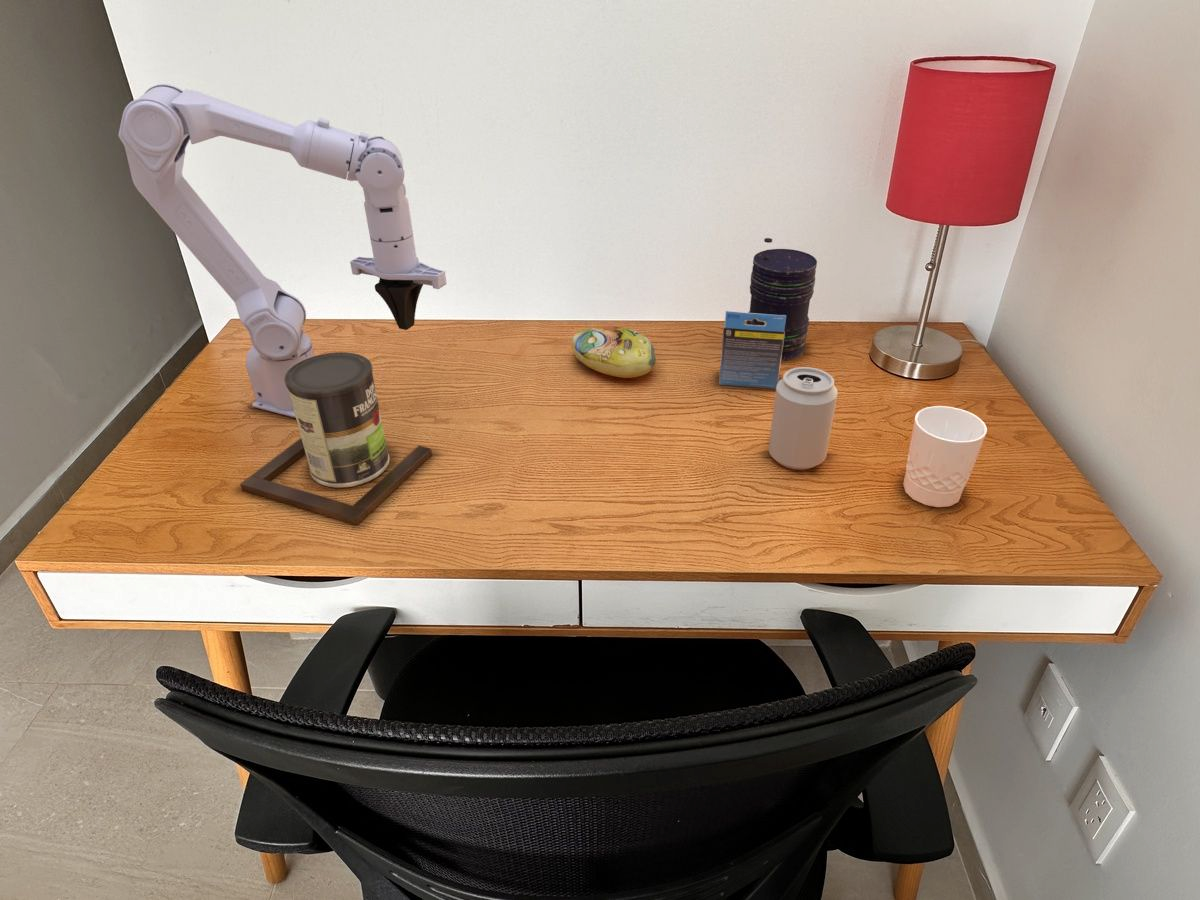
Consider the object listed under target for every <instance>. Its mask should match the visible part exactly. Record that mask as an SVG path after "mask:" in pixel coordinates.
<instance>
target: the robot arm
mask: <svg viewBox="0 0 1200 900" xmlns="http://www.w3.org/2000/svg"><path fill="white" fill-rule="evenodd" d="M369 136H370V135H369V134H368V133H365V132H362V131H361V132H360V134H356V133H353V132H350V131H347V130H344V129H341V128H337V127H334V126H330V120H329V119H326V118H322V117H318V119H317V121H314V120H312V119H306V120H304V121H303V122H302V123H300V124H297V125H293V124H290V123H287V122H284V121H282V120H279V119H276V118H273V117H271V116H267V115H265V114H262V113H259V112H256V111H254V110H251V109H248V108H245V107H242V106H241V105H240V106H239V105H237V104H234V103H230V102H228V101H226V100H222V99H220V98H217V97H214V96H211V95H208V94H206V93H203V92H201V91H198V90H193V89H187V88H185V89H184V90H183V89H181V88H180V87H178V86H175V85H172V84H167V83H160V84H155V85H152V86H150V87H149V88H148V89H146V91H144V93H143V95H141V96H140V97H138V98H136V99H134V100H131V101H130V102H129V103H128V104H127V105H126V106H125V108H124V110H123V112H122V116H121V121H120V125H119V130H118V138H119V140H120V141H121V142H122V144H123V146H124V150H125V154H126V158H127V163H128V167H129V171H130V176H131V181H132V183H133V185H134V187H135V188H136V190H137V191H138V192H139V193H140V195H141V196H142V197H143V198H144V199H145V200H146V201H147V203H148V204H149V205H150V206H151V207H152V209H153V210H154V211H155V212H156V213H157V214H158V215H159V217H160V218H161V219H162V220H163V221H164V222H165V224H166V225H167V226H168V227H169V229H171V230H172V232H173V233H174V234H175V235H176V236H177V237H178V239H179V240H180V241H181V242H182V243H183V244H184V246H185V247H186V248H187V249H188V250H189V251H190V252H191V254H192V255H193V256H194V257H195V258H196V259H197V261H198V262H199V263H200V264H201V265H202V266H203V268H204V269H205V270H206V271H207V273H209V275H210V276H211V277H212V278H213V279H214V280H215V282H217V284H218V285H219V286H220V287H221V289H223V291H224V292H225V293H226V294H227V296H229V297H230V299H231V300H232V301H233V303H234V305H235V308H236V311H237V314H238V317H239V319H240V323H241V324H242V325H243V326H244V328H245V329H246V330H247V333H248V334H249V336H250V342H251V344H252V346H251V347H250V348H249V350H248V352H247V354H246V359H245V369H246V372H247V376H248V379H249V382H250V385H251V389H252V392H253V396H254V399H255V401H254V402H252V407H253V408H255V409H260V410H263V411H267V412H271V413H274V414H279V415H283V416H287V417H290V418H295V419H296V416H295V413H294V409H293V406H292V402H291V398H290V394H289V391H288V388H287V387H286V384H285V380H284V378H285V374H286V373H287V371H288V370H289V369H290V368H291V367H292V366H294V365H295V364H297V363H299V362H301V361H303V360H305V359H307V358H310V357H313V356H315V353H314V349H313V348H314V347H313V345H312V344H313V343H312V340H311V338H310V337H309V336H308V335H307V334H306V333H305V331H304V330H303V327H304V325H305V322H306V319H307V311H306V308H305V306H304V304H303V303H302V301H300V299H299V298H298V297H296V296H294V295H293V294H290V293H288V292H287V291H285V290H284V289H283V288H282V287H281V286H280V285H279V283H278V282H277V281H275V280H272V279H270V278H268V277H266V276H265V275H264V274H263V273H262V272H261V270H260V269H259V268H258V267H257V265H256V264H255V263H254V262H253V260H252V259H251V258H250V257H249V255H248V254H247V253H246V252H245V251H244V249H243V248H242V247H241V246H240V244H239V243H238V242H237V241H236V240H235V239H234V237H233V236H232V235H231V234H230V232H229V231H228V230H227V229H226V227H225V226H224V225H223V224H222V223H221V221H220V220H219V219H218V217H217V216H216V215H215V214H214V213H213V212H212V210H211V209H210V208H209V207H208V205H207V204H206V202H204V201H203V199H202V198H201V197H200V196H199V194H198V193H197V192H196V191H195V189H194V188H193V187H192V186H191V184H190V183H189V182H188V181H187V180H186V178H185V177H184V176H183V169H184V162H185V156H186V148H187V146H188V144H189V142H190V144H191V145H195V144H200V143H202V142H205V141H208V140H212V139H214V138H217V137H225V138H229V139H233V140H237V141H240V142H245V143H249V144H253V145H257V146H261V147H265V148H269V149H273V150H276V151H280V152H284V153H285V152H286V153H288V154H290V155H291V156H292V157H293V158H294V160H295V161H296V162H297V164H298V165H299V167H300V168H305V169H308V170H311V171H313V172H319V173H321V174H324V175H327V176H328V175H329V176H332V177H336V178H339V179H342V180H347V181H349V182H355V181H357V182H358V184H359V186H360V187H361V188H362V190H363V196H364V203H363V206H364V207H363V208H364V211H365V216H366V223H367V228H368V229H367V230H368V234H369V240H370V245H371V246H370V247H371V250H372V255H373V257H365V256H357V257H355V258H354V259H351V260H350V261H349V264H350V268H351V273H352V275H355V276H360V275H361V274H362V275H367V276H373V277H377V278H379V279H378V282H377V283H376V284H374V290H375V292H376V294H378V295H379V296H380V297H381V298H382V300H383V301H384V302H385V304H386V306H387V307H388V309H389V310H390V312H391V315H392V317H393V319H394V321H395V323H396V325H397V327H398V329H400V330H403V331H407V330H410V329H411V328H412V327H414V326H415V320H416V319H415V318H416V310H417V306H418V305H417V304H418V301H419V297H420V294H421V291H422V288H423V287H424V286H431V287H432V289H435V290H440V289H441V288H443V287H445V286H446V285H447V276H446V271H445V270H441V269H438V268H435V267H432V266H430V265H428V264H425V263H423V262H420V261H419V257H418V256H417V250H416V245H415V244H416V243H415V239H414V231H413V225H412V217H411V211H410V205H409V199H408V197H407V196H406V195H407V189H406V185H405V184H404V180H405V169H404V161H403V156H402V154H401V151H400V150H399V147H397V146H396V144H395V143H393V142H392V141H390V140H389V139H387V138H385V137H384V136H382V135H374V136H370V137H369Z"/></svg>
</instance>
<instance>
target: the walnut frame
mask: <svg viewBox="0 0 1200 900" xmlns="http://www.w3.org/2000/svg"><path fill="white" fill-rule="evenodd" d="M304 455H306V453H305V450H304V446H303V442H302V439H301V438H299V439H298V440H296V441H295V442H294V443H292V444H290V446H288V447H287V448H286V449H285V450H283V451H282V452H281V453H279V454H278V455H276V456H275V457H274V458H272V459H271V460H270V461H269V462H267V463H266V464H265V465H263V466H262V467H260V468H259V469H258V470H257V471H255V472H253V474H251V475H250V476H249V477H247V478H246V479H244V480H243V481H242V482H241V483H239V487H240V488H241V491H243V492H246V493H250V494H253V495H257V496H259V497H263V498H266V499H269V500H273V501H276V502H280V503H283V504H286V505H290V506H292V507H296V508H299V509H302V510H306V511H309V512H313V513H315V514H319V515H322V516H326V517H329V518H332V519H336V520H339V521H341V522H345V523H349V524H352V525H355V526H358V525H360V524H361V523H362V522H363V521H364V520H365V519H366V518H367V517H368V516H369V515H370V514H371V513H372V512H373V511H374V510H375V509H376V508H377V507H378V506H380V505H381V504H382V503H383V502H384V501H385V500H386V499H387V498H388V497H389V496H390V495H392V493H393V492H394V491H395V490H396V489H398V487H400V486H401V485H402V483H403V484H404V482H405V481H406V480H407V479H408V478H409V477H410V476H411V475H412V474H413V473H414V472H415V471H416V470H418V468H420V467H421V466H422V465H423V464H424V463H425V462H426V461H427V460H428V459H429V458H430V457H431V456H432V455H433V451H432V448H430V447H426V446H422V445H418V446H417V447H415V448H414V449H413V450H412V451H411V452H410V453H409V454H408V455H406V457H404V459H402V460H401V461H400V462H399V463H398V464H397V465H396V466H395V467H393V468H392V470H390V471H389V472H388V473H387V474H386V475H384V477H383V478H382V479H380V480H379V481H378V482H377V483H376V484H374V485H373V486H372V487H371V489H370V490H368V491H367V492H366V493H365V494H364V495H363V496H362V497H361V498H360V499H358V500H357V501H356V502H355V503H354V504H353V505H352V504H349V503H345V502H342V501H338V500H335V499H331V498H328V497H325V496H322V495H318V494H315V493H311V492H308V491H304V490H302V489H298V488H295V487H292V486H291V487H290V486H288V485H284V484H280V483H278V482H274V481H273V480H274V478H276V477H278V476H279V475H280V474H281V473H282V472H283V471H285V470H286V469H287V468H289V467H290V466H291V465H293V464H294V463H295V462H296V461H298V460H300V458H302V457H303V456H304Z"/></svg>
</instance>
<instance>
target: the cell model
mask: <svg viewBox="0 0 1200 900" xmlns="http://www.w3.org/2000/svg"><path fill="white" fill-rule="evenodd" d="M571 349H572V352H573V354H574V356H575V358H576V359H577V360H578V361H579V362H580V363H581V364H583V365H585V366H586V367H588V368H590V369H592V370H594V371H595V372H598V373H601V374H604V375H608V376H612V377H617V378H622V379H623V378H625V379H627V378H628V379H629V378H630V379H631V378H638V377H642V376H645V375H646V374H648V373H649V372H651V371H652V369H653V368H654V367H655V365H656V361H657V360H656V351H655V346H654V345H653V343H652V341H651V340H650V339H648V337H647V336H645V335H644V334H643V333H641V332H639V331H637V330H634V329H631V328H627V327H622V326H615V325H605V326H598V327H589V328H584V329H581V330H579V331H577V332H576V333H575V334H574V335H573V337H572V339H571Z"/></svg>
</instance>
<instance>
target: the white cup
mask: <svg viewBox="0 0 1200 900" xmlns="http://www.w3.org/2000/svg"><path fill="white" fill-rule="evenodd" d="M912 426H913V427H912V431H911V436H910V441H909V447H908V452H907V453H908V454H907V459H906V467H905V468H906V469H905V474H904V479H903V483H902V484H903V488H904V492H905V493H906V495H908V496H909V497H910V499H912V500H913V501H915V502H918V503H919V504H920V503H921V504H922V505H924V506H928V507H934V508H947V507H948V508H949V507H951V506H954V505H955V504H957V503H959V502H960V499H961V497H962V494H963V492H964V489H965V488H966V485H967V483H968V482H969V479H970V476H971V475H972V472H973V469H974V467H975V466H976V462H977V460H978V457H979V454H980V452H981V448H982V446H983V443H984V441H985V438H986V435H987V433H988V428H987V425H986V423H985V422H984V421H983V420H982V419H981V418H980V417H978V416H977V415H976V414H974V413H972V412H970V411H967V410H965V409H962V408H958V407H953V406H948V405H947V406H946V405H935V406H927V407H924V408H922V409H919V410H918V411H917V412H916V413H915V415H914V420H913V425H912Z"/></svg>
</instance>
